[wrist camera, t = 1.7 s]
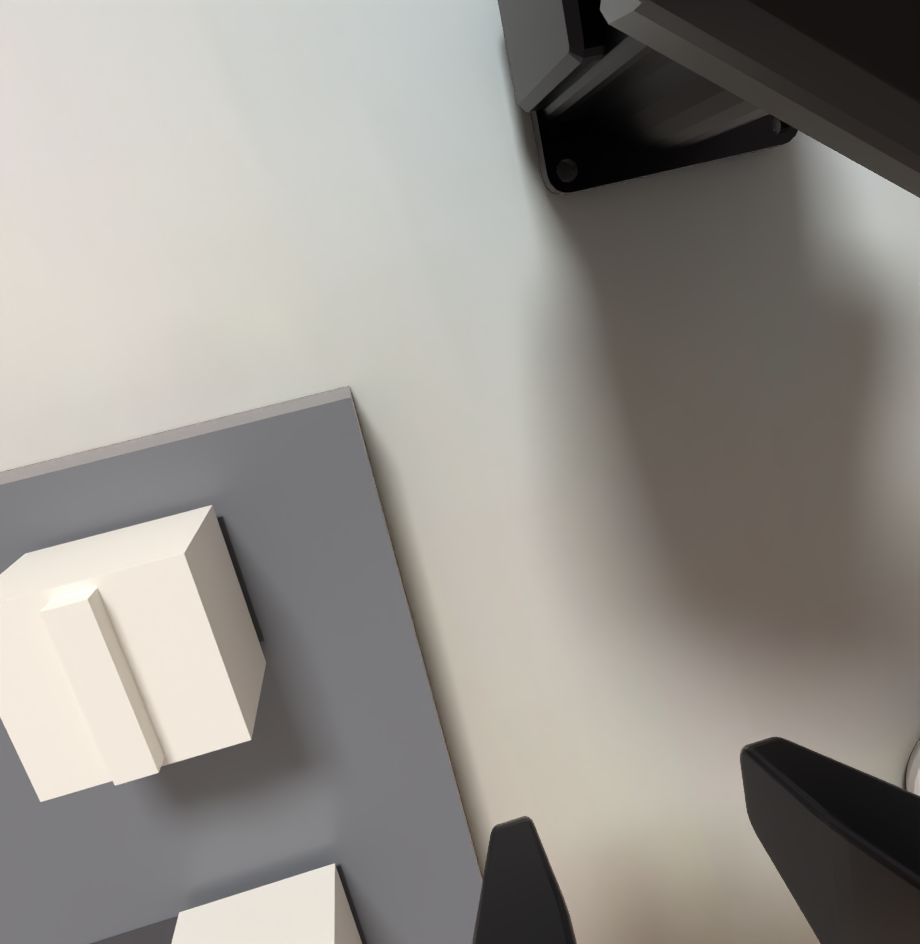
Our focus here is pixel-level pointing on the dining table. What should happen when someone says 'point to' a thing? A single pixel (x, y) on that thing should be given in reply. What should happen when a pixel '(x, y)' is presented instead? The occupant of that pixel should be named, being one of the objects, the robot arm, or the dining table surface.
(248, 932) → the middle tab
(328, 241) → the dining table surface
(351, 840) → the switch panel
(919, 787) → the energy drink
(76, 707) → the tab
